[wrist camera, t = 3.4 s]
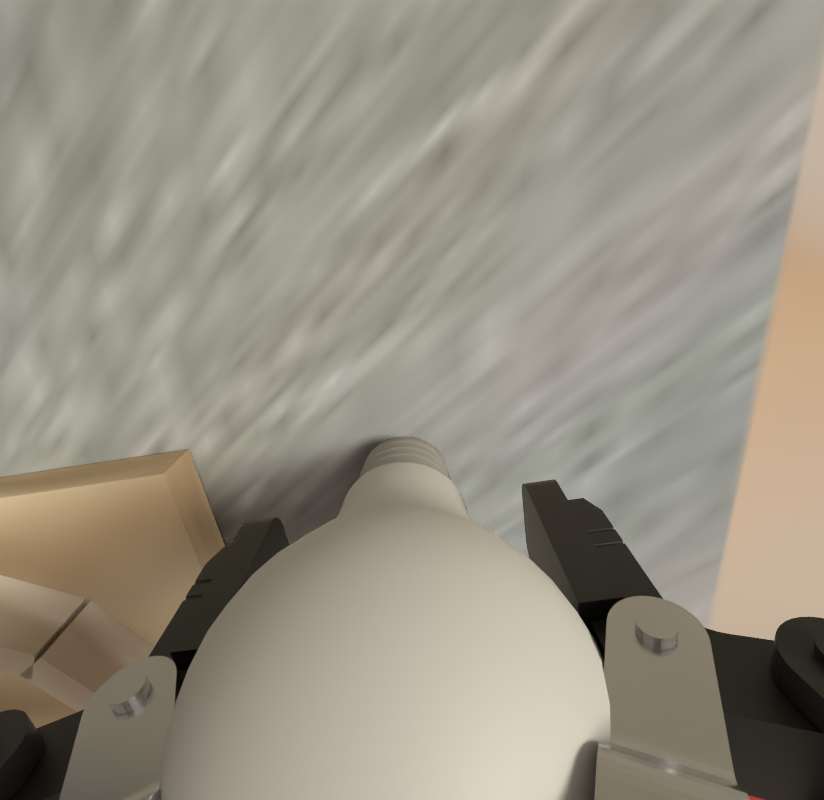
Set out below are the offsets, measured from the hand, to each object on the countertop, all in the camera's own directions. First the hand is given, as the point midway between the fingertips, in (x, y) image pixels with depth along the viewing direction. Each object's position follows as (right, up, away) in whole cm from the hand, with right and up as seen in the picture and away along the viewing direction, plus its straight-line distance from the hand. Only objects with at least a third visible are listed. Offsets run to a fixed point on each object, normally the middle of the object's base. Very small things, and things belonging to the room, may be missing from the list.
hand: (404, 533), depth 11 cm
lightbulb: (0, +1, +3) cm, 4 cm away
